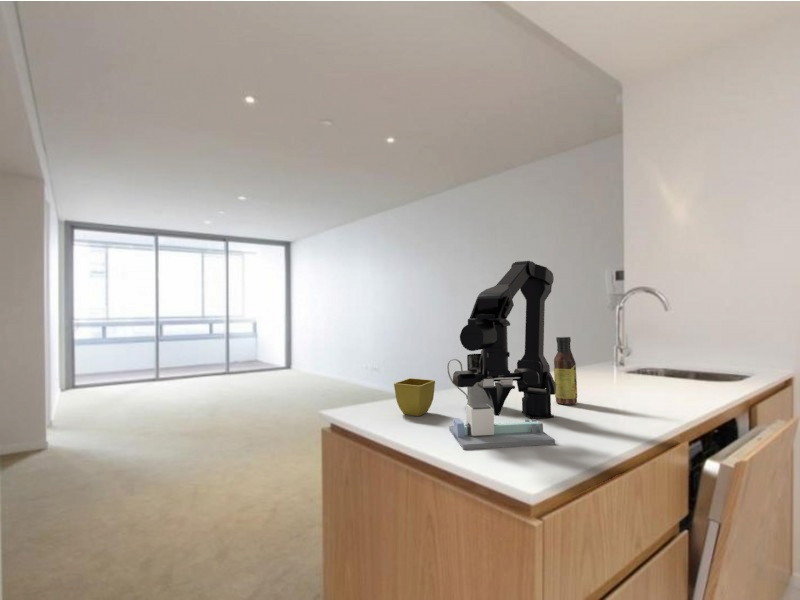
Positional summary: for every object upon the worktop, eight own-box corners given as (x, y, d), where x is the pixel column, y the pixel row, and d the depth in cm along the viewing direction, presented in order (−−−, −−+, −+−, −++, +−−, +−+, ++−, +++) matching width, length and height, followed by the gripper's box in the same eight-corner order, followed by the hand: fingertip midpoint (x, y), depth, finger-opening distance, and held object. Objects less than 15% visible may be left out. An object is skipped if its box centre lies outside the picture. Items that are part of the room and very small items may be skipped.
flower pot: (421, 419, 114) (420, 385, 114) (393, 415, 119) (393, 382, 119) (436, 412, 122) (435, 380, 122) (410, 408, 126) (409, 378, 126)
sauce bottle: (580, 405, 125) (579, 337, 126) (559, 405, 125) (557, 337, 126) (572, 400, 132) (570, 335, 132) (551, 400, 132) (550, 336, 132)
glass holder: (495, 409, 123) (493, 357, 123) (445, 407, 127) (444, 356, 127) (496, 402, 131) (495, 353, 131) (450, 400, 135) (449, 353, 135)
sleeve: (487, 428, 100) (486, 402, 100) (494, 434, 95) (493, 407, 95) (466, 429, 100) (465, 403, 100) (472, 435, 95) (471, 408, 95)
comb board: (529, 425, 106) (528, 409, 106) (554, 444, 92) (554, 425, 92) (449, 430, 104) (448, 413, 104) (463, 449, 90) (462, 430, 90)
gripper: (520, 342, 107) (522, 405, 107) (447, 345, 105) (448, 409, 105) (539, 346, 96) (541, 416, 96) (457, 349, 94) (459, 421, 94)
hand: (496, 415), depth 98 cm, fingers closed
